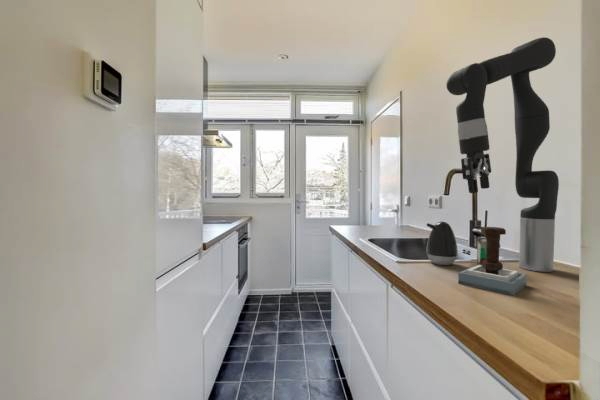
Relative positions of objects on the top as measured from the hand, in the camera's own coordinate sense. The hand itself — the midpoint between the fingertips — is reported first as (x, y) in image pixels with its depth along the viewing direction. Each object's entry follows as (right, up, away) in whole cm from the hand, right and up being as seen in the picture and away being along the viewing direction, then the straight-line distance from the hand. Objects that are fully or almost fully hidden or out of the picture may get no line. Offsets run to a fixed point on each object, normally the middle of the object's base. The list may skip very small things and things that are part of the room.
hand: (479, 190), depth 90 cm
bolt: (0, -26, -6) cm, 26 cm away
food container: (+9, -26, +10) cm, 30 cm away
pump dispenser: (-3, -26, +18) cm, 32 cm away
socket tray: (0, -26, -6) cm, 27 cm away
